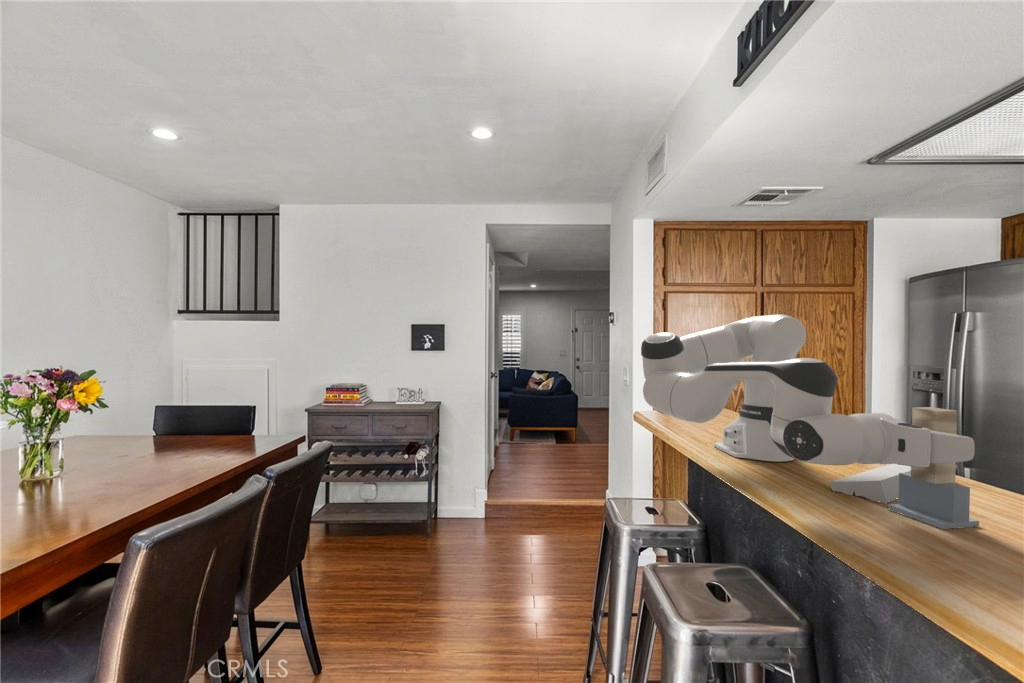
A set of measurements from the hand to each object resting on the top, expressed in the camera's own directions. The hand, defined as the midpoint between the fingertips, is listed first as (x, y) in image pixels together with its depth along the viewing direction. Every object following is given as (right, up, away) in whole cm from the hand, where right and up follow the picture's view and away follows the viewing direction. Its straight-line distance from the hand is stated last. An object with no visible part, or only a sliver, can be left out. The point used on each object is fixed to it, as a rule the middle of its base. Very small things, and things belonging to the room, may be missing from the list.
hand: (937, 436), depth 94 cm
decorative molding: (+7, -16, +22) cm, 28 cm away
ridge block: (-1, -15, 0) cm, 15 cm away
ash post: (-1, -8, 0) cm, 8 cm away
